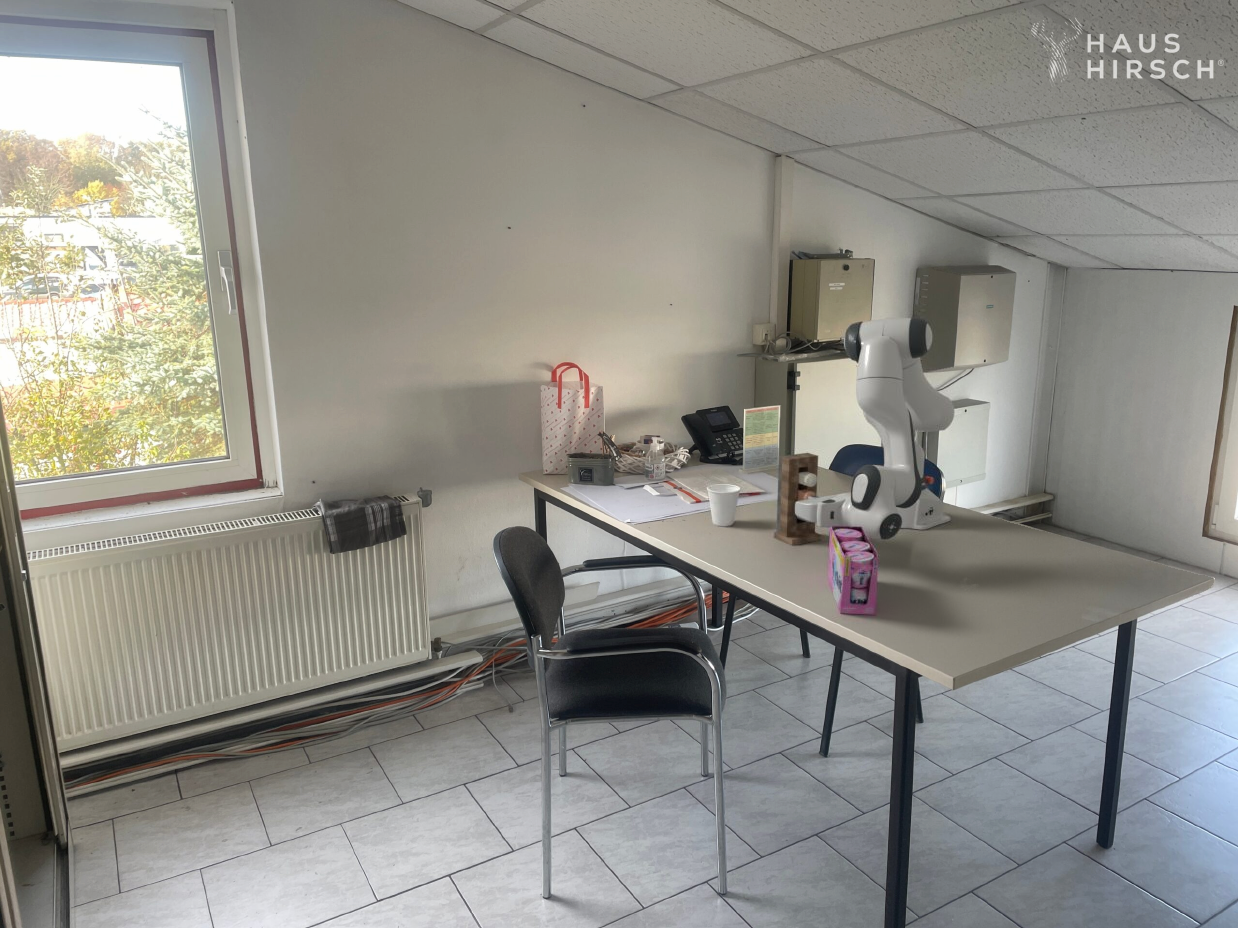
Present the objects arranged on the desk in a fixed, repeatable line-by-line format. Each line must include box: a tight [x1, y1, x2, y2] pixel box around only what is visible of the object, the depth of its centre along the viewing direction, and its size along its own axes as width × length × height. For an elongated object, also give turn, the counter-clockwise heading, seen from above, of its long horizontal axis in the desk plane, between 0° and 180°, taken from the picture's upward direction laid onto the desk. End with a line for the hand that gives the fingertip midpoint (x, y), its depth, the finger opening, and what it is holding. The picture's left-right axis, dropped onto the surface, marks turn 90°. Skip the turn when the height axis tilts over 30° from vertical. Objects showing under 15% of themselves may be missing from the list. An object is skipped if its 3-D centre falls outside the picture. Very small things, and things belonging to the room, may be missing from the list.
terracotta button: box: [797, 489, 816, 501], centre depth 236 cm, size 4×4×4 cm
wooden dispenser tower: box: [773, 452, 822, 546], centre depth 239 cm, size 10×8×24 cm
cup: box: [706, 483, 742, 528], centre depth 255 cm, size 10×10×11 cm
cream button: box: [798, 472, 818, 487], centre depth 235 cm, size 4×4×4 cm
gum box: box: [827, 526, 879, 616], centre depth 198 cm, size 24×8×14 cm, turn 174°
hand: (811, 498), depth 234 cm, fingers closed
